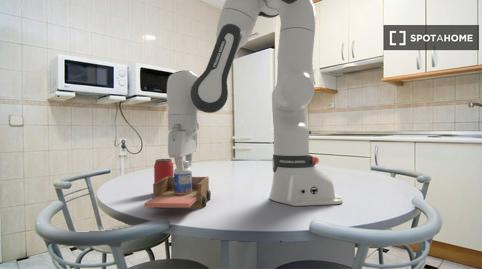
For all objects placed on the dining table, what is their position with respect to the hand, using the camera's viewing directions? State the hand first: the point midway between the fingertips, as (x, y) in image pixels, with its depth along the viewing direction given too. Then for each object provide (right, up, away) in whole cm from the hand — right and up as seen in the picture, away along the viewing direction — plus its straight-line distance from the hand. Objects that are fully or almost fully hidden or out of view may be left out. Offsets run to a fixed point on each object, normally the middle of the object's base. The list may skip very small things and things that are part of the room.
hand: (184, 169), depth 85 cm
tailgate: (-1, -7, -7) cm, 10 cm away
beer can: (-10, -10, +13) cm, 19 cm away
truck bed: (-1, -10, 0) cm, 10 cm away
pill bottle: (0, -8, 0) cm, 8 cm away
